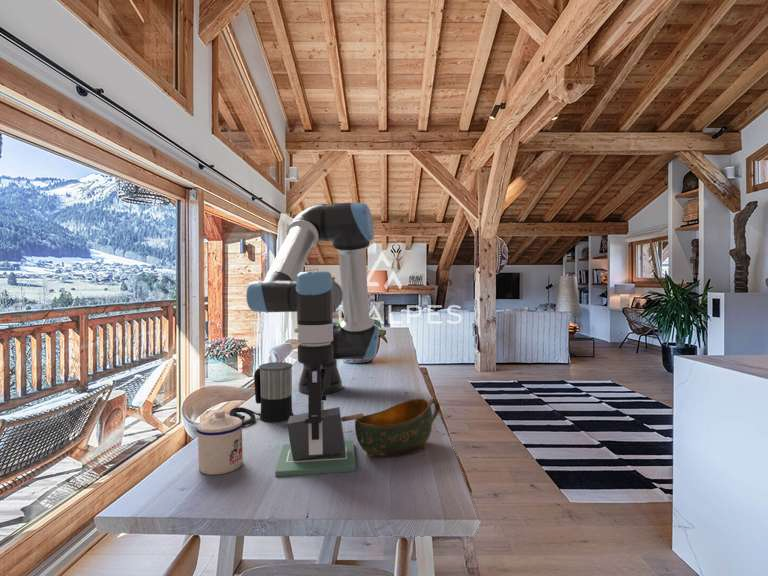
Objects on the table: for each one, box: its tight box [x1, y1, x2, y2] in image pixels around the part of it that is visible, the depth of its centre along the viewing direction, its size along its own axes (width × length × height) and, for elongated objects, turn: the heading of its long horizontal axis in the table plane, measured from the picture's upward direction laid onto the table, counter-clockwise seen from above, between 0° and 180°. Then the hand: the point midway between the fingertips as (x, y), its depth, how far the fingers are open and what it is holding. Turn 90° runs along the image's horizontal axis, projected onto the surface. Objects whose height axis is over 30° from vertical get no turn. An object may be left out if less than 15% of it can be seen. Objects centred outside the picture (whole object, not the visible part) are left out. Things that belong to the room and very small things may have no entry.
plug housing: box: [286, 406, 365, 461], centre depth 94 cm, size 5×16×8 cm, turn 96°
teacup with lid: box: [196, 409, 244, 476], centre depth 92 cm, size 12×9×12 cm
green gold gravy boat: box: [354, 398, 441, 459], centre depth 99 cm, size 13×20×10 cm, turn 92°
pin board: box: [274, 439, 357, 477], centre depth 94 cm, size 14×16×4 cm
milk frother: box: [228, 361, 294, 426], centre depth 120 cm, size 14×16×15 cm
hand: (317, 441), depth 94 cm, fingers open, 13 cm apart
